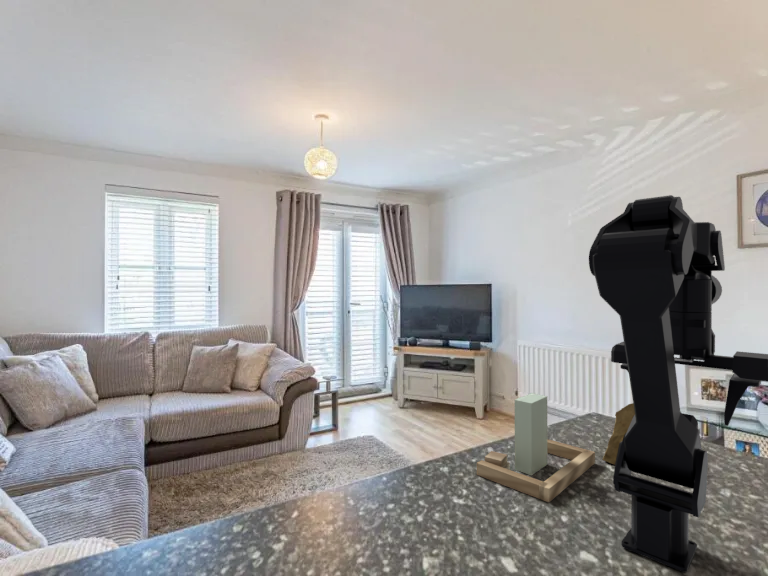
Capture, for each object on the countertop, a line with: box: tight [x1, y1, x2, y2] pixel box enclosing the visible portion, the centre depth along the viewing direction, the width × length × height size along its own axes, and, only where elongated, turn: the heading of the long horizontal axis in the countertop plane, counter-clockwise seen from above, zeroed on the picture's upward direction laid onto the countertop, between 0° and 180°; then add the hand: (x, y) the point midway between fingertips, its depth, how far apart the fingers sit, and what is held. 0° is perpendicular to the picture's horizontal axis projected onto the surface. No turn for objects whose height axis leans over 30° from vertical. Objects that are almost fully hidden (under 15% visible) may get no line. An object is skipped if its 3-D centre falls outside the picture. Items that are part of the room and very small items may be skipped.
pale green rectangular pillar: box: [514, 392, 548, 476], centre depth 72 cm, size 6×3×12 cm, turn 134°
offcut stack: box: [484, 450, 511, 470], centre depth 71 cm, size 4×3×2 cm
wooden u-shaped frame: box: [476, 438, 596, 503], centre depth 71 cm, size 18×12×2 cm, turn 134°
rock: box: [602, 402, 635, 466], centre depth 76 cm, size 11×9×10 cm
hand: (686, 417), depth 61 cm, fingers open, 9 cm apart
